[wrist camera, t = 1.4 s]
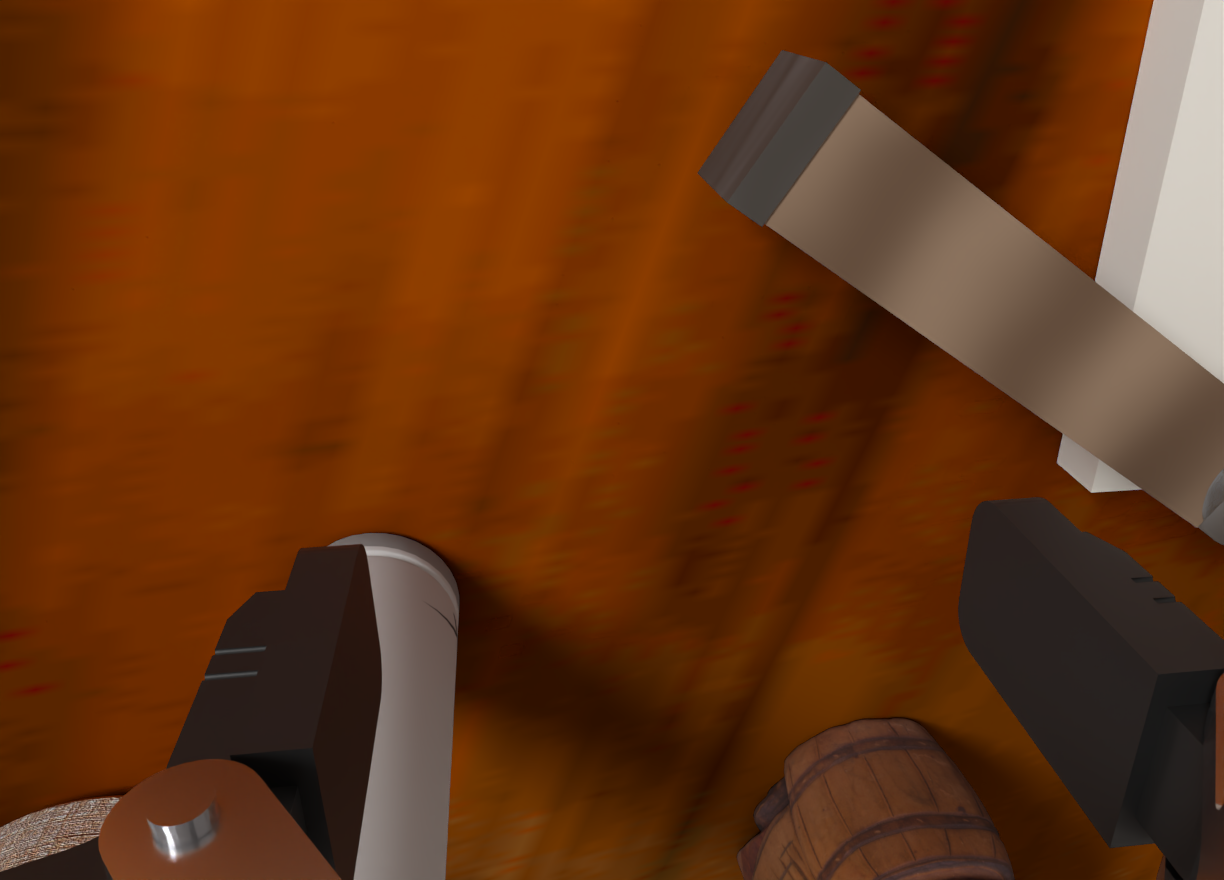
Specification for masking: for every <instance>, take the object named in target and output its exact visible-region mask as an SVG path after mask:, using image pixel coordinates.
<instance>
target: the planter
mask: <svg viewBox="0 0 1224 880" xmlns="http://www.w3.org/2000/svg"><path fill="white" fill-rule="evenodd" d="M123 796H124V795H115V796H102V797H94V798H87V799H81V800H76V801H71V802H66V803H62V804H57V805H54V806H50V807H46V808H43V809H40V810H37V811H34V812H32V813H29V814H27V815H24V816H22V817H20V818H17V819H15V820H13V821H11V822H9V823H7V824H5V825H3V826H2V827H0V872H1V871H4V870H7V869H10V868H13V867H16V866H19V865H22V864H25V863H28V862H31V861H34V860H37V859H40V858H43V857H46V856H49V855H52V854H55V853H58V852H61V851H64V850H67V849H70V848H73V847H75V846H78V845H80V844H83V843H85V842H87V841H90V840H92V839H94V838H96V837H98V836H99V834H100V830H101V827H102V825H103V823H104V820H105V818H106V817H107V815H108V814H109V812H110V811H111V809H112V808H113V807H114V806H115V804H116V803H117V802H118V801H119V800H120V799H121V798H122V797H123Z"/></svg>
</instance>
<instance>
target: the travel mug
mask: <svg viewBox="0 0 1224 880" xmlns="http://www.w3.org/2000/svg"><path fill="white" fill-rule="evenodd" d="M353 544H363V546H364V548H365V550H366V554H367V559H368V565H369V572H370V579H371V586H372V593H373V600H374V607H375V614H376V621H377V628H378V635H379V642H380V649H381V661H382V693H381V703H380V709H379V716H378V722H377V729H376V736H375V742H374V749H373V755H372V762H371V769H370V775H369V782H368V788H367V795H366V802H365V808H364V815H363V821H362V828H361V835H360V841H359V848H358V854H357V861H356V867H355V874H354V880H445V874H446V855H447V835H448V816H449V796H450V777H451V757H452V738H453V719H454V699H455V680H456V660H457V641H458V622H459V592H458V587H457V583H456V581H455V579H454V577H453V575H452V573H451V571H450V569H449V568H448V567H447V565H446V564H445V563H444V562H443V560H442V559H441V558H440V557H438V556H437V555H436V554H435V553H434V552H433V551H431V550H430V549H428V548H427V547H425V546H423V545H421V544H420V543H418V542H416V541H413V540H410V539H408V538H405V537H402V536H397V535H392V534H386V533H366V534H359V535H353V536H349V537H347V538H344V539H341V540H338V541H335V542H334V543H332V544H330V545H328V546H339V545H353Z"/></svg>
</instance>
